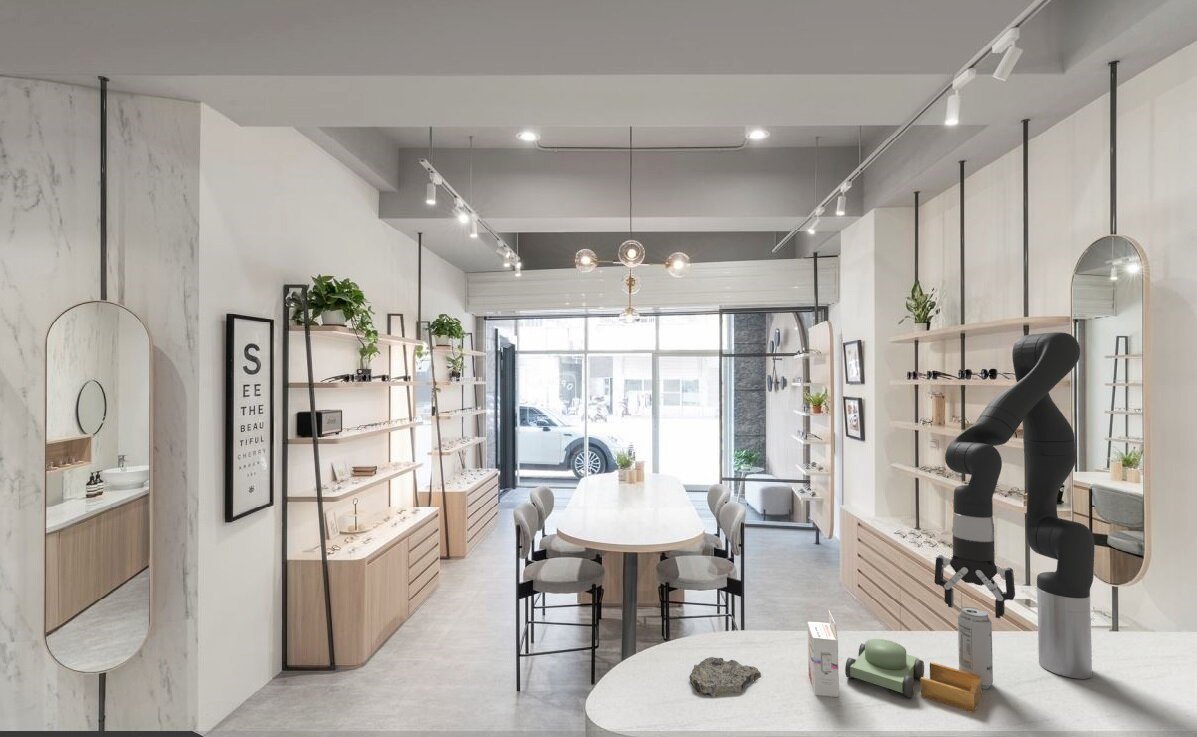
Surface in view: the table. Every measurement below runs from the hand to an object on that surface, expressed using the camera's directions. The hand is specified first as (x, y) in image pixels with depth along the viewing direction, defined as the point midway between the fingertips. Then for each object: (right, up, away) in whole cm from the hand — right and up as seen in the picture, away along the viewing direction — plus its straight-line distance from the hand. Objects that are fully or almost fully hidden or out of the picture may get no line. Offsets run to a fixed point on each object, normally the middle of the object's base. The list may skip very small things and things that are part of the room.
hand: (973, 611), depth 121 cm
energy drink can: (0, -15, 0) cm, 15 cm away
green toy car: (-18, -15, +1) cm, 24 cm away
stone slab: (-54, -16, 0) cm, 56 cm away
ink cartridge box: (-33, -15, -2) cm, 36 cm away
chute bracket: (-8, -15, -5) cm, 18 cm away
